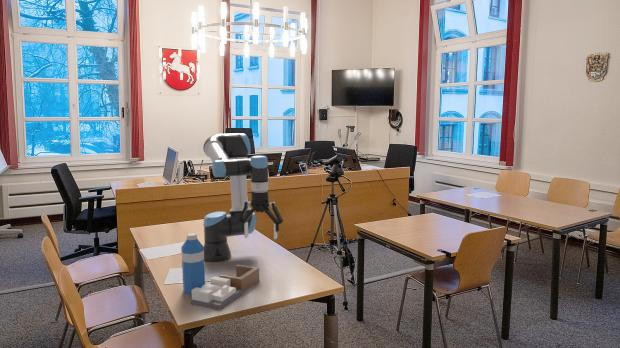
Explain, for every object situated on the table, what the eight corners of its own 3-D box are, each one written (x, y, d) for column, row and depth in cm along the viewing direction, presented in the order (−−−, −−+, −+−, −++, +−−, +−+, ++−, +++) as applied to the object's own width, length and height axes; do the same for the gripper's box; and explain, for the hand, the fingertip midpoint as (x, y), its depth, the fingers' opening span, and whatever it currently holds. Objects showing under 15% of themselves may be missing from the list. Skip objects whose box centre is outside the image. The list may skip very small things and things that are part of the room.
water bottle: (185, 286, 203) (182, 231, 199) (206, 285, 204) (204, 231, 200) (181, 295, 194) (178, 237, 190) (203, 294, 195) (201, 237, 191)
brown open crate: (219, 288, 200) (219, 275, 199) (238, 276, 214) (238, 264, 213) (242, 292, 196) (241, 279, 195) (259, 280, 209) (259, 267, 209)
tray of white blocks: (191, 312, 186) (190, 289, 184) (214, 296, 200) (213, 276, 199) (220, 318, 180) (219, 295, 179) (242, 302, 195) (241, 280, 193)
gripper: (229, 191, 201) (231, 238, 204) (284, 193, 196) (285, 241, 199) (236, 188, 208) (237, 234, 212) (289, 190, 203) (290, 236, 206)
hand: (260, 237), depth 205 cm, fingers open, 13 cm apart
